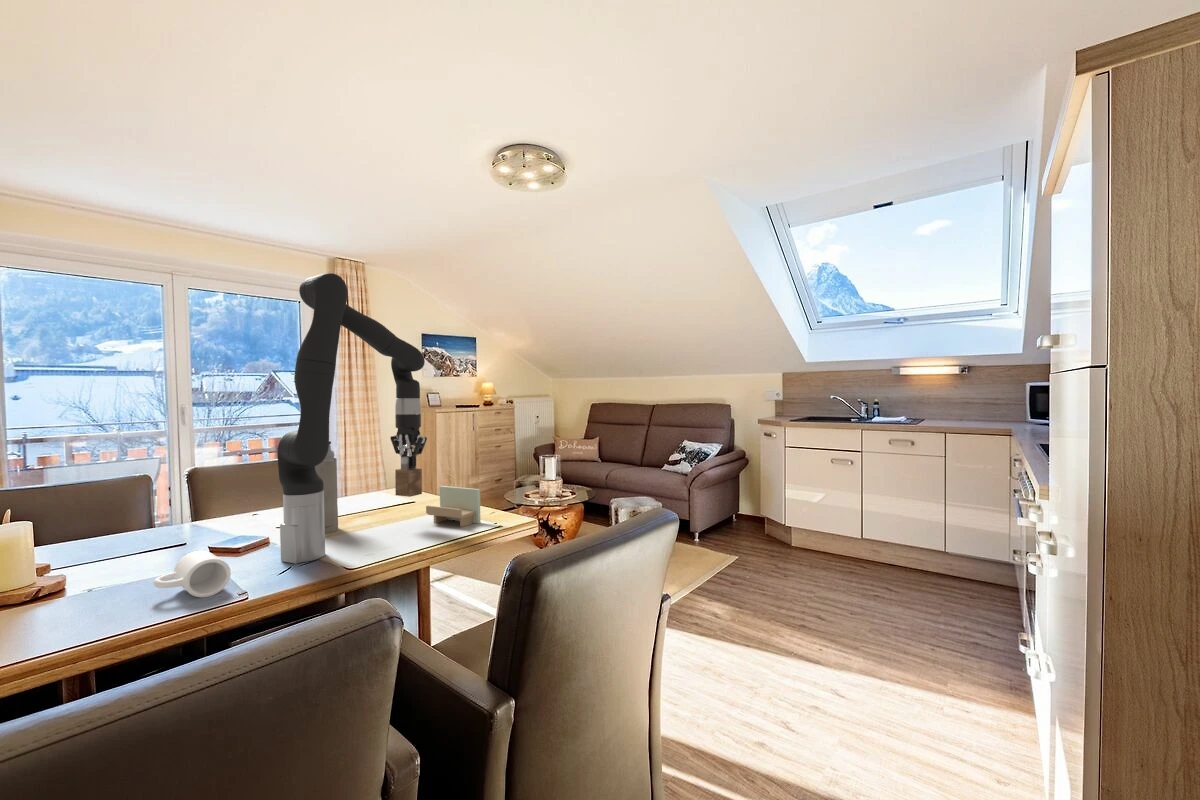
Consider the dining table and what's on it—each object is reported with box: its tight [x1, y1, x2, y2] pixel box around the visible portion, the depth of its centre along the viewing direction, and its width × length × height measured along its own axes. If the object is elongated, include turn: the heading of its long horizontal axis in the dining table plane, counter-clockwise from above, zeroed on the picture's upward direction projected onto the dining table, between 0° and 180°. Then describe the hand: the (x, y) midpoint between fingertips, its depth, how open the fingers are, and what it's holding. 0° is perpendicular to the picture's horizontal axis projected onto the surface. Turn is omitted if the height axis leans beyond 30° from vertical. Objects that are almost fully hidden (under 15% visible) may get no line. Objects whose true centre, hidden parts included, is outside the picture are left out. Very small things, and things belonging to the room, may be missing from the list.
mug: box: [153, 550, 232, 598], centre depth 111 cm, size 12×10×8 cm
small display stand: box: [425, 485, 481, 527], centre depth 167 cm, size 9×16×11 cm, turn 65°
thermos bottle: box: [315, 440, 339, 534], centre depth 161 cm, size 8×8×28 cm
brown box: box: [394, 455, 423, 498], centre depth 161 cm, size 5×6×12 cm
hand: (408, 467), depth 161 cm, fingers closed on brown box, 2 cm apart
